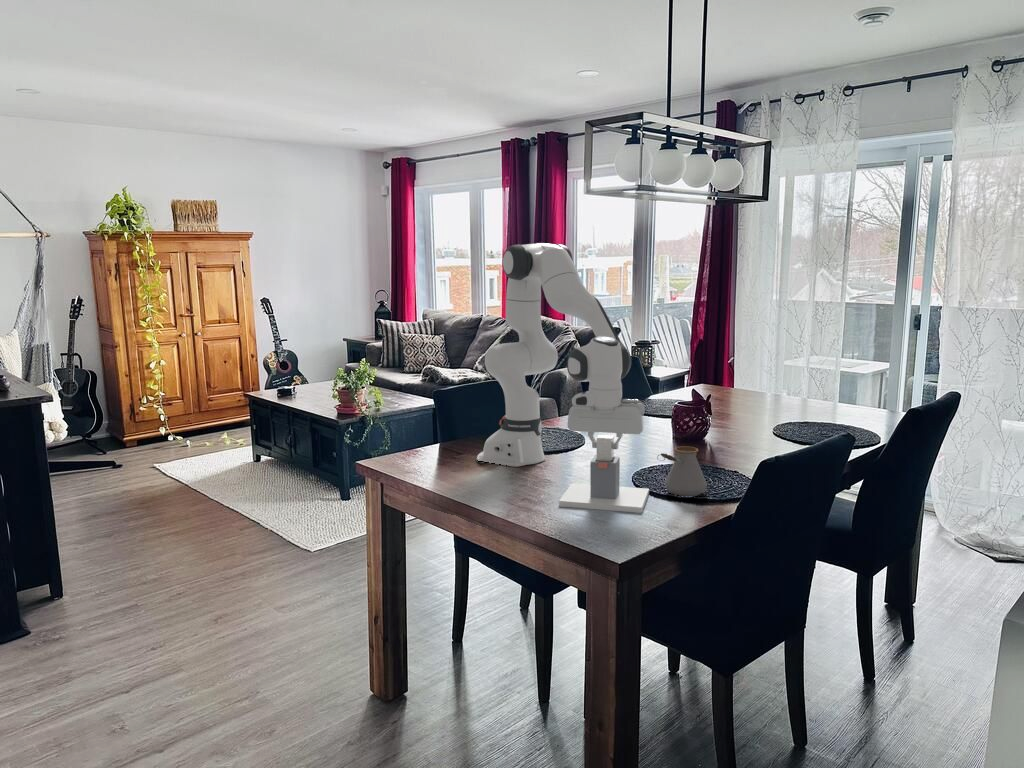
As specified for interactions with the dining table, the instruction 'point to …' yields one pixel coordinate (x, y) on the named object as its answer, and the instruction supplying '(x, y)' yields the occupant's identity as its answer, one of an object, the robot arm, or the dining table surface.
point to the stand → (605, 490)
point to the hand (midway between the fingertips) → (605, 448)
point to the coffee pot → (685, 473)
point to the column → (605, 448)
